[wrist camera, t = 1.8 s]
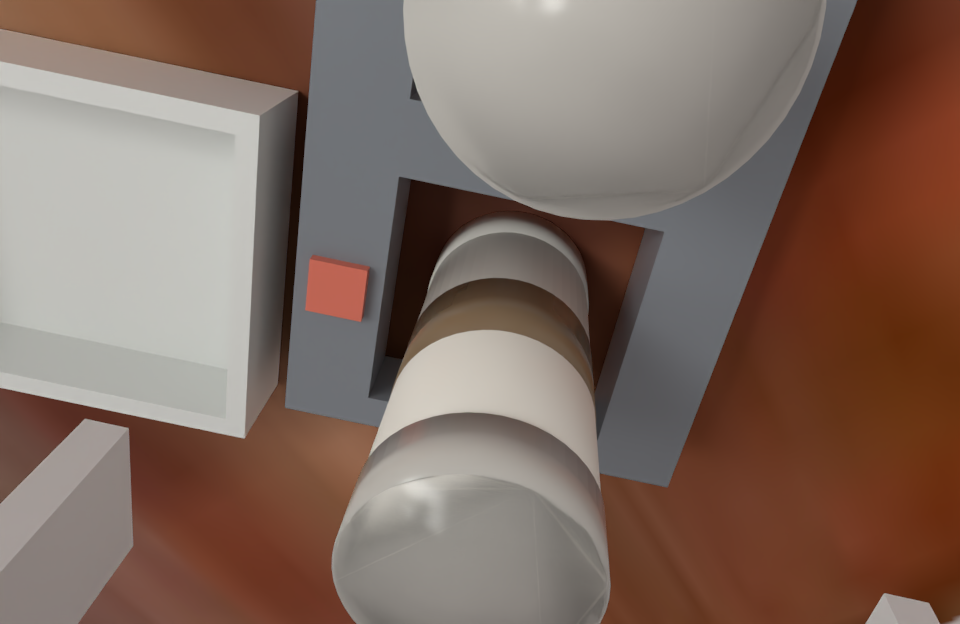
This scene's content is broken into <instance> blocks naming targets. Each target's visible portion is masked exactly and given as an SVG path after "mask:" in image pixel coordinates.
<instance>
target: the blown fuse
mask: <svg viewBox="0 0 960 624" xmlns="http://www.w3.org/2000/svg"><path fill="white" fill-rule="evenodd" d="M588 310H589V300H588V287H587V275H586V269H585V264H584V261H583V259H582V256H581V254H580V252H579V250H578V248H577V247H576V245H575V244H574V242H573V241H572V240H571V239H570V237H569V236H568V235H567V234H566V233H565V232H564V231H562V230H561V229H560V228H559V227H557V226H556V225H555V224H553V223H551V222H549V221H548V220H546V219H543V218H541V217H539V216H536V215H532V214H529V213H524V212H517V211H502V212H494V213H490V214H485V215H483V216H480V217H477V218H475V219H473V220H471V221H469V222H468V223H466V224H465V225H463V226H462V227H460V228H459V229H458V230H457V231H456V232H455V233H454V234H453V235H452V236H451V237H450V238H449V240H448V241H447V242H446V244H445V245H444V247H443V249H442V250H441V253H440V255H439V258H438V260H437V263H436V266H435V269H434V271H433V274H432V277H431V280H430V283H429V287H428V293H427V296H426V299H425V301H424V304H423V307H422V310H421V313H420V315H419V318H418V321H417V323H416V325H415V328H414V330H413V332H412V335H411V338H410V341H409V343H408V346H407V349H406V352H405V355H404V357H403V360H402V363H401V366H400V368H399V371H398V374H397V377H396V379H395V382H394V385H393V388H392V392H391V396H390V399H389V402H388V404H387V407H386V410H385V413H384V415H383V418H382V421H381V424H380V427H379V429H378V432H377V435H376V438H375V440H374V443H373V446H372V449H371V452H370V454H369V457H368V459H367V461H366V463H365V464H364V466H363V468H362V470H361V472H360V475H359V477H358V480H357V482H356V485H355V488H354V491H353V493H352V496H351V499H350V502H349V504H348V507H347V510H346V513H345V515H344V518H343V521H342V524H341V526H340V529H339V532H338V535H337V537H336V540H335V544H334V548H333V553H332V573H333V581H334V584H335V587H336V590H337V594H338V596H339V598H340V600H341V602H342V604H343V606H344V607H345V609H346V610H347V612H348V613H349V615H350V616H351V618H352V619H353V620H354V621H355V622H356V624H600V622H601V620H602V618H603V616H604V614H605V612H606V609H607V605H608V601H609V597H610V586H611V584H610V571H609V558H608V545H607V532H606V519H605V508H604V502H603V498H602V494H601V489H600V475H599V461H598V447H597V434H596V408H595V394H594V381H593V367H592V355H591V347H590V337H589V324H588Z"/></svg>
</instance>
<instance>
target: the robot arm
mask: <svg viewBox="0 0 960 624" xmlns="http://www.w3.org/2000/svg"><path fill="white" fill-rule="evenodd" d="M132 547H133V526H132V500H131V474H130V449H129V428H125V427H121V426H116V425H112V424H107V423H103V422H98V421H93V420H89V419H84V420H83V421H82V422H81V423H80V424H79V425H78V426H77V427H76V428H75V429H74V430H73V431H72V432H71V433H70V434H69V435H68V436H67V437H66V438H65V439H64V440H63V441H62V442H61V443H60V444H59V445H58V446H57V447H56V448H55V449H54V450H53V451H52V452H51V453H50V454H49V455H48V456H47V457H46V458H45V459H44V460H43V461H42V462H41V463H40V464H39V465H38V466H37V467H36V468H35V469H34V470H33V471H32V472H31V473H30V474H29V475H28V476H27V477H26V478H25V479H24V480H23V481H22V482H21V483H20V484H19V485H18V486H17V488H16V489H15V490H14V491H13V492H12V493H11V494H10V495H9V496H8V497H7V498H6V499H5V500H4V501H3V502H2V503H1V504H0V624H78V623H79V621H80V620H81V618H82V617H83V615H84V614H85V613H86V611H87V610H88V608H89V607H90V606H91V604H92V603H93V601H94V600H95V599H96V597H97V596H98V594H99V593H100V592H101V590H102V589H103V587H104V586H105V585H106V583H107V582H108V580H109V579H110V578H111V576H112V575H113V573H114V572H115V571H116V569H117V568H118V566H119V565H120V564H121V562H122V561H123V559H124V558H125V557H126V555H127V554H128V552H129V551H130V550H131V548H132ZM866 624H940V623H939V621H938V619H937V617H936V615H935V614H934V612H933V610H932V608H931V606H930V604H929V603H927V602H922V601H918V600H913V599H909V598H904V597H899V596H895V595H890V594H886V593H884V594H883V596H882V598H881V599H880V601H879V602H878V604H877V606H876V607H875V609H874V611H873V612H872V614H871V616H870V617H869V619H868V620H867V622H866Z"/></svg>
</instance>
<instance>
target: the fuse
mask: <svg viewBox="0 0 960 624" xmlns="http://www.w3.org/2000/svg"><path fill="white" fill-rule="evenodd" d="M825 11H826V0H404V4H403V17H404V35H405V43H406V49H407V54H408V60H409V66H410V69H411V72H412V75H413V79H414V82H415V85H416V88H417V91H418V94H419V96H420V98H421V100H422V103H423V105H424V107H425V109H426V112H427V114H428V116H429V117H430V119H431V121H432V122H433V124H434V126H435V127H436V129H437V131H438V132H439V134H440V136H441V137H442V138H443V140H444V141H445V142H446V143H447V145H448V146H449V147H450V148H451V150H452V151H453V152H454V154H455V155H456V156H457V157H458V158H459V159H460V160H461V161H462V162H463V163H464V164H465V165H466V166H467V167H468V168H469V169H470V170H471V171H472V172H473V173H474V174H475V175H477V176H478V177H479V178H481V179H482V180H483V181H485V182H486V183H487V184H489V185H490V186H491V187H493V188H494V189H496V190H497V191H499V192H501V193H503V194H504V195H506V196H508V197H510V198H511V199H513V200H515V201H517V202H519V203H522V204H524V205H527V206H529V207H531V208H534V209H536V210H539V211H543V212H547V213H550V214H554V215H558V216H562V217H569V218H576V219H583V220H616V219H626V218H634V217H639V216H643V215H648V214H652V213H657V212H660V211H663V210H665V209H668V208H671V207H674V206H677V205H680V204H682V203H684V202H686V201H688V200H690V199H692V198H694V197H696V196H698V195H700V194H703V193H705V192H706V191H708V190H709V189H711V188H712V187H714V186H716V185H717V184H719V183H720V182H722V181H723V180H725V179H726V178H728V177H729V176H730V175H731V174H733V173H734V172H735V171H736V170H738V169H739V168H740V167H741V166H742V165H744V164H745V163H746V162H747V161H748V160H749V159H750V158H751V157H752V156H753V155H754V154H755V153H756V152H757V151H758V150H759V149H760V148H761V147H762V146H763V145H764V144H765V143H766V142H767V141H768V140H769V138H770V137H771V136H772V134H773V133H774V132H775V130H776V129H777V128H778V126H779V125H780V124H781V123H782V121H783V120H784V119H785V117H786V115H787V114H788V112H789V110H790V109H791V107H792V105H793V104H794V102H795V100H796V99H797V97H798V95H799V94H800V91H801V89H802V87H803V85H804V83H805V80H806V78H807V76H808V74H809V71H810V69H811V67H812V64H813V61H814V57H815V54H816V51H817V48H818V45H819V41H820V38H821V33H822V27H823V22H824V16H825Z"/></svg>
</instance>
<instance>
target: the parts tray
mask: <svg viewBox="0 0 960 624" xmlns="http://www.w3.org/2000/svg"><path fill="white" fill-rule="evenodd" d="M298 92H299V91H296V90H291V89H286V88H282V87H277V86H272V85H267V84H262V83H258V82H253V81H248V80H243V79H239V78H234V77H229V76H224V75H219V74H215V73H210V72H205V71H200V70H195V69H191V68H186V67H181V66H176V65H172V64H167V63H162V62H157V61H152V60H148V59H143V58H138V57H133V56H129V55H124V54H119V53H114V52H109V51H105V50H100V49H95V48H90V47H85V46H81V45H76V44H71V43H66V42H62V41H57V40H52V39H47V38H42V37H38V36H33V35H28V34H23V33H18V32H14V31H9V30H4V29H0V388H4V389H9V390H14V391H18V392H23V393H28V394H33V395H38V396H42V397H47V398H52V399H57V400H62V401H66V402H71V403H76V404H81V405H86V406H90V407H95V408H100V409H105V410H110V411H114V412H119V413H124V414H129V415H134V416H138V417H143V418H148V419H153V420H158V421H162V422H167V423H172V424H177V425H182V426H186V427H191V428H196V429H201V430H206V431H210V432H215V433H220V434H225V435H230V436H234V437H239V438H245V437H246V435H247V434H248V432H249V430H250V429H251V427H252V425H253V424H254V422H255V420H256V419H257V417H258V416H259V414H260V412H261V411H262V409H263V407H264V406H265V404H266V403H267V401H268V399H269V398H270V396H271V394H272V393H273V391H274V390H275V388H276V386H277V385H278V375H279V361H280V347H281V332H282V318H283V304H284V290H285V276H286V262H287V247H288V233H289V219H290V205H291V191H292V177H293V162H294V148H295V134H296V120H297V106H298Z"/></svg>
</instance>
